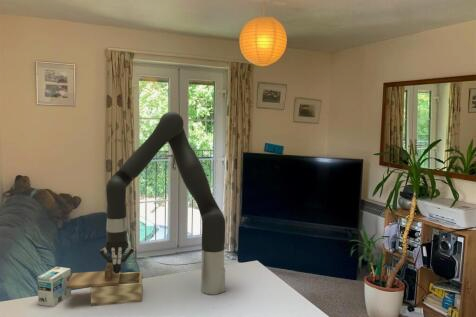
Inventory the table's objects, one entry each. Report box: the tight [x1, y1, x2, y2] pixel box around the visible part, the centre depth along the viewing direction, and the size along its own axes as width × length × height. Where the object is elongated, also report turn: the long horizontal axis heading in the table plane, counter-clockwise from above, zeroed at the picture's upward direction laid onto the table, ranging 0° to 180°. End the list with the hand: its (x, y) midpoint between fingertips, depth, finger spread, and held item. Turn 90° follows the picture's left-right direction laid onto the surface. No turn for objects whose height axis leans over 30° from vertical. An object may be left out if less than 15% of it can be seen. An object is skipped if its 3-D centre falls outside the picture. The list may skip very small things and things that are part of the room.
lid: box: [66, 262, 122, 290], centre depth 142 cm, size 18×12×5 cm, turn 103°
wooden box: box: [90, 271, 143, 307], centre depth 144 cm, size 18×12×7 cm, turn 103°
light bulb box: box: [37, 266, 72, 307], centre depth 141 cm, size 11×7×11 cm, turn 168°
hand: (117, 272), depth 143 cm, fingers closed
